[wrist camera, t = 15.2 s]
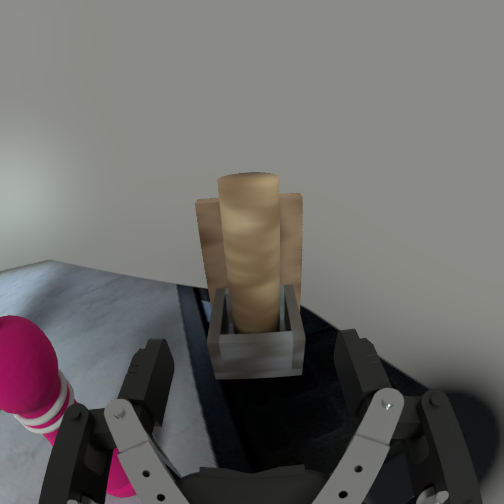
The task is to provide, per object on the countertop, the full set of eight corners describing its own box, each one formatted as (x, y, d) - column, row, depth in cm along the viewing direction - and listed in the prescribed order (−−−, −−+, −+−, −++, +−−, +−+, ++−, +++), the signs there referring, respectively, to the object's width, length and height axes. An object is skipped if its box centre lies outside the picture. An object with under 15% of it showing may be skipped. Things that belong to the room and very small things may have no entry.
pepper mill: (80, 484, 14) (-74, 331, 5) (103, 433, 20) (-7, 267, 11) (144, 512, 13) (-42, 371, 4) (163, 451, 19) (52, 271, 10)
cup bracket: (212, 400, 25) (170, 243, 17) (219, 335, 34) (197, 199, 26) (308, 395, 25) (326, 233, 17) (296, 331, 34) (299, 193, 26)
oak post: (234, 358, 24) (214, 186, 17) (236, 328, 28) (220, 174, 21) (281, 356, 24) (282, 182, 17) (277, 326, 28) (275, 171, 21)
